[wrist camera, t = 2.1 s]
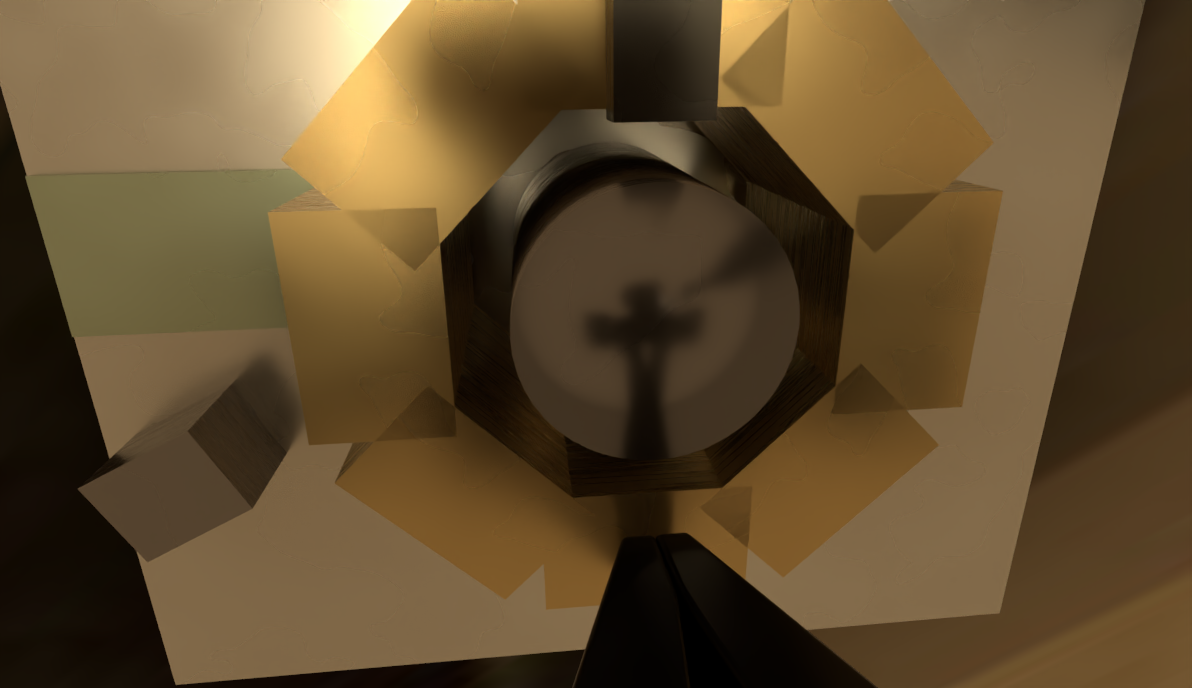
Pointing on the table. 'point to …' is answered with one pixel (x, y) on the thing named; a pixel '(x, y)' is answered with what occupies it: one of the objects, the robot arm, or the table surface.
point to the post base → (506, 319)
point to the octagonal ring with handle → (774, 194)
